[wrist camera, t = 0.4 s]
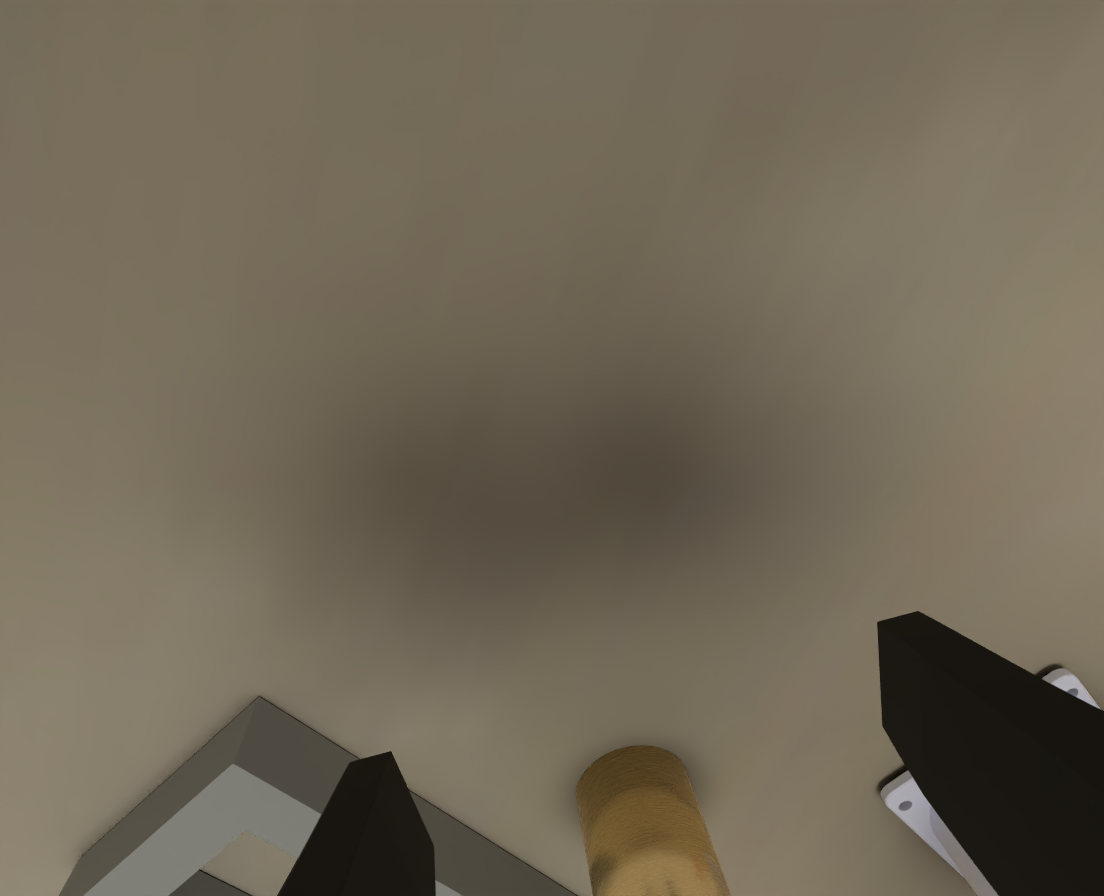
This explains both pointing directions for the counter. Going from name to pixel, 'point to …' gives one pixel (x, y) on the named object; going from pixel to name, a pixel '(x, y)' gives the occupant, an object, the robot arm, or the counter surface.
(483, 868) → the header block
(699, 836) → the gold cylinder
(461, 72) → the counter surface
